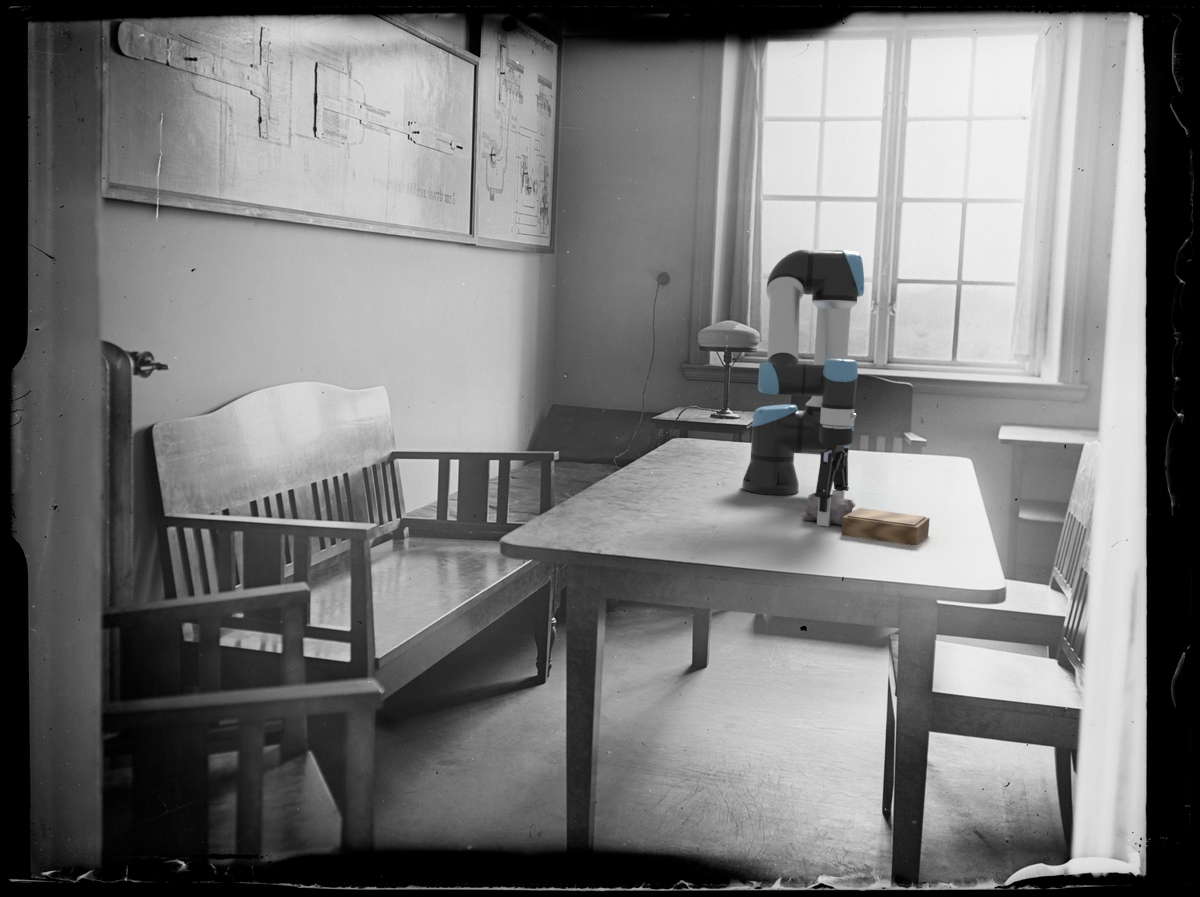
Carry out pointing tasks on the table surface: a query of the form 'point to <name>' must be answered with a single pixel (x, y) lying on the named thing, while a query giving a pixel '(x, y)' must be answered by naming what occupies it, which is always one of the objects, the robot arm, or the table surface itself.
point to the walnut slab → (886, 526)
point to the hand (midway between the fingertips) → (829, 521)
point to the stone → (837, 510)
